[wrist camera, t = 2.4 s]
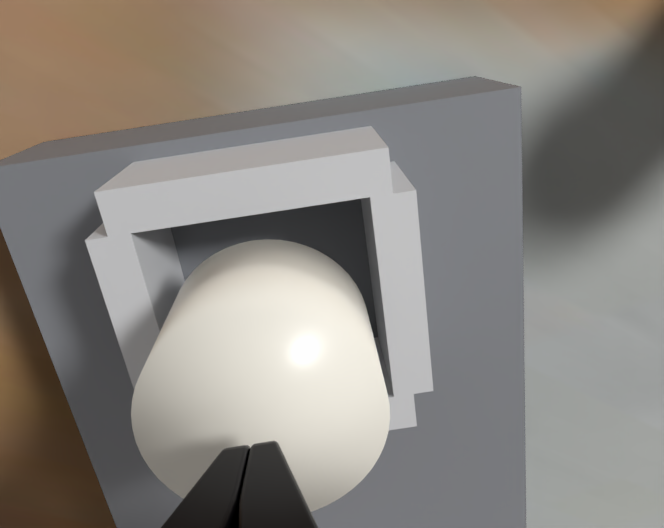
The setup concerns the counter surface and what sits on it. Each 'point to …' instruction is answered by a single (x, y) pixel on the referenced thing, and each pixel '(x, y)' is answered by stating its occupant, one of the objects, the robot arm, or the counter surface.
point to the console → (320, 234)
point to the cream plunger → (265, 371)
